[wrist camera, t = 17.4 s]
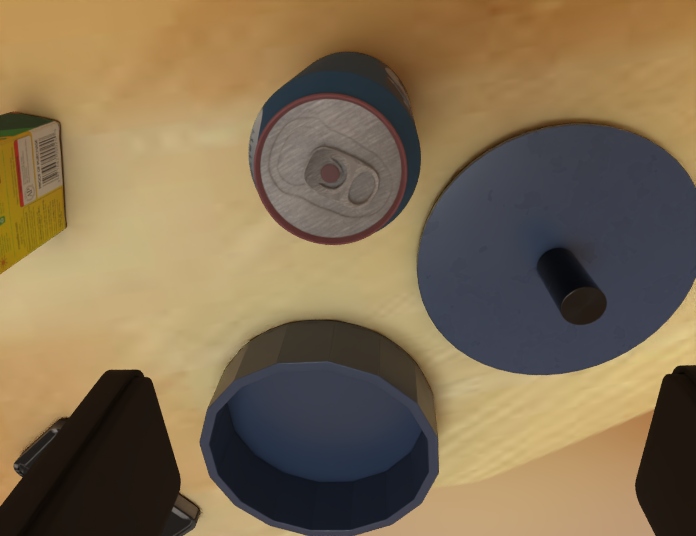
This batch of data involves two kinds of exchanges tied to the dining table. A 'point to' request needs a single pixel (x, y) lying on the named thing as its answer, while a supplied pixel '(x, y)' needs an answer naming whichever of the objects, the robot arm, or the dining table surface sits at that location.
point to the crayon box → (29, 185)
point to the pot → (322, 430)
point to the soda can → (336, 150)
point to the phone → (181, 514)
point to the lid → (559, 249)
